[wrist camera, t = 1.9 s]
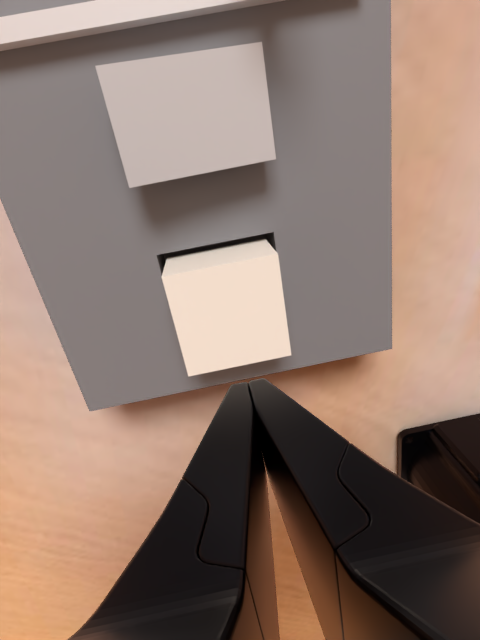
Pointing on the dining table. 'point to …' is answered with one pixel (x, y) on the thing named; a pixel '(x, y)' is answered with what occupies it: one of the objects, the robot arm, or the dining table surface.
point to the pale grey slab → (189, 112)
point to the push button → (227, 306)
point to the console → (199, 182)
